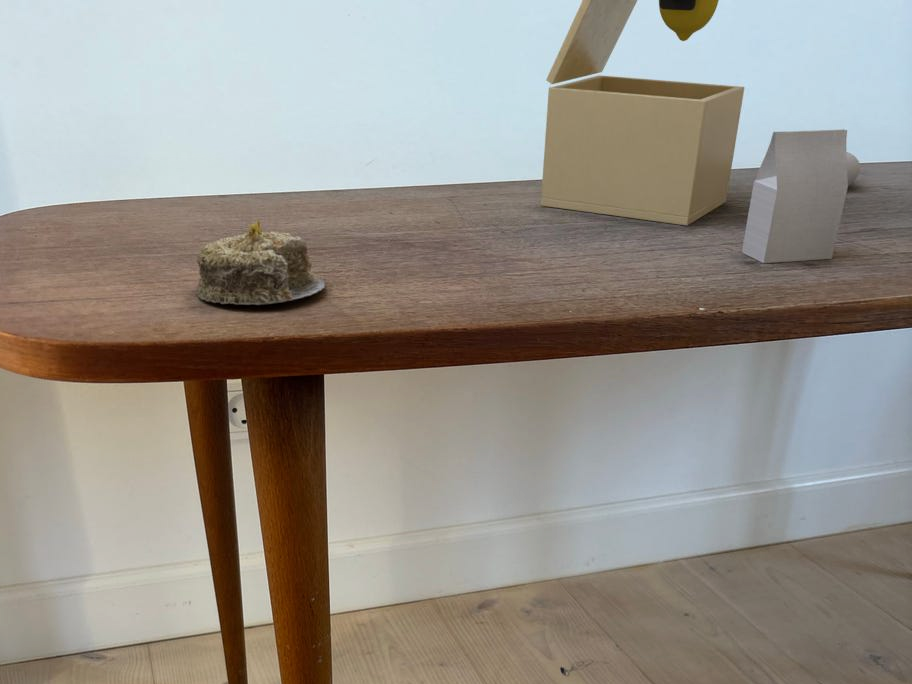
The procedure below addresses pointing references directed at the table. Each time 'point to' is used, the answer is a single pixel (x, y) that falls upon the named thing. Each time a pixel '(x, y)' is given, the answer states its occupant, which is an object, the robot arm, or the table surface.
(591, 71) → the box lid
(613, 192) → the tan open box
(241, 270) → the cake
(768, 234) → the grey upright tapered block
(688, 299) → the table surface
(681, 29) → the lemon
